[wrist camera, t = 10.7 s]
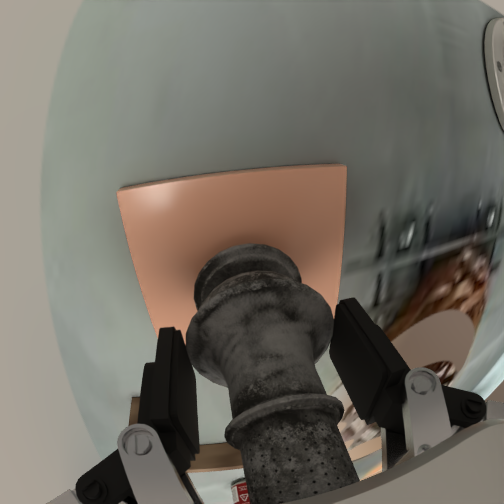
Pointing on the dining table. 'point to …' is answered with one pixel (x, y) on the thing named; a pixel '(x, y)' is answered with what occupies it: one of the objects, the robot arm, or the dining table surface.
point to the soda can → (240, 492)
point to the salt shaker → (270, 372)
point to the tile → (232, 229)
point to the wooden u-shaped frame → (203, 451)
